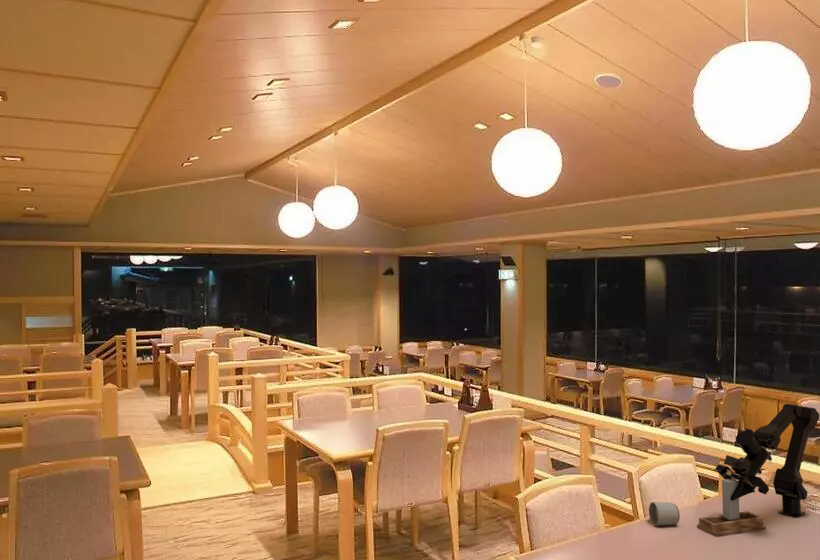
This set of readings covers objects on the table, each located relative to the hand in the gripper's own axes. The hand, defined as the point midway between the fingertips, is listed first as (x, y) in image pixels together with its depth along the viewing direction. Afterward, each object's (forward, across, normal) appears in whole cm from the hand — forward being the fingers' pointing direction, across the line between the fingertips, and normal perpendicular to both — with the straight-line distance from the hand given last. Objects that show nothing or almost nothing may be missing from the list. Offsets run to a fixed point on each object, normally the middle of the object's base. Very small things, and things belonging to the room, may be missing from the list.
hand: (727, 498), depth 219 cm
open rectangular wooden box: (+6, 0, +8) cm, 10 cm away
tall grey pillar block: (+4, 0, +6) cm, 7 cm away
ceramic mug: (+19, -12, -5) cm, 23 cm away
